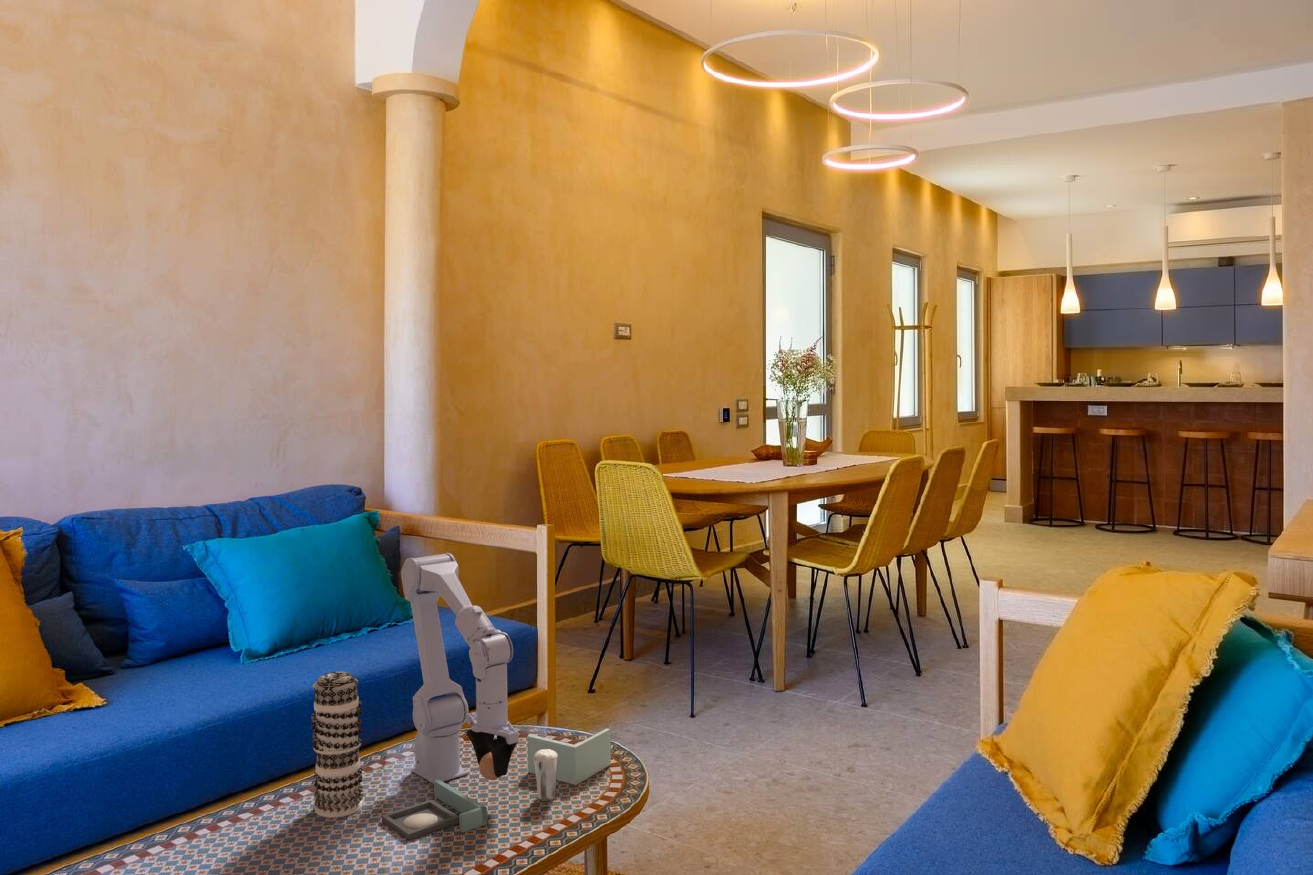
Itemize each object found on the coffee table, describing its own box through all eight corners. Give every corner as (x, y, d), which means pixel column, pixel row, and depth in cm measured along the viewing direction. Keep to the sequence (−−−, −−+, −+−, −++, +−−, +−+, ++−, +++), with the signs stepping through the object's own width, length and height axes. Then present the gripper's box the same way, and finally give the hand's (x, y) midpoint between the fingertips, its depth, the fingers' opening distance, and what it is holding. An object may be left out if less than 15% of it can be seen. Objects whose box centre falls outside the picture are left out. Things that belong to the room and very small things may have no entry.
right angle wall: (610, 764, 204) (610, 728, 204) (575, 785, 194) (575, 747, 193) (564, 753, 210) (563, 718, 210) (528, 772, 200) (527, 736, 200)
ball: (474, 778, 185) (473, 752, 185) (496, 771, 189) (496, 745, 188) (488, 786, 182) (488, 759, 181) (511, 779, 185) (511, 752, 185)
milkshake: (558, 804, 185) (557, 751, 184) (531, 801, 186) (530, 749, 185) (565, 794, 189) (564, 742, 189) (538, 792, 190) (538, 741, 190)
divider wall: (415, 802, 186) (414, 786, 186) (438, 794, 189) (438, 779, 189) (462, 832, 173) (462, 815, 173) (487, 823, 177) (486, 807, 177)
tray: (381, 821, 178) (381, 815, 178) (431, 805, 184) (431, 799, 184) (408, 840, 170) (408, 834, 170) (459, 823, 177) (459, 816, 177)
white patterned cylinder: (374, 806, 184) (371, 674, 183) (329, 823, 177) (325, 685, 176) (348, 792, 190) (345, 664, 189) (303, 808, 184) (300, 675, 182)
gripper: (452, 694, 187) (453, 765, 188) (494, 714, 176) (495, 788, 177) (484, 686, 192) (485, 755, 192) (527, 705, 181) (528, 777, 182)
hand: (492, 770), depth 185 cm, fingers closed on ball, 5 cm apart
